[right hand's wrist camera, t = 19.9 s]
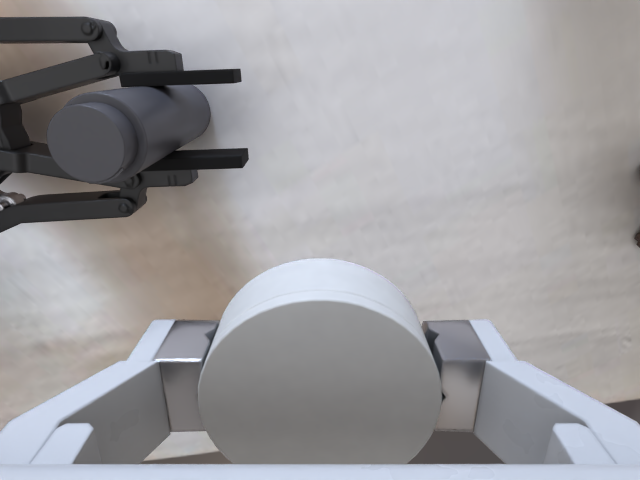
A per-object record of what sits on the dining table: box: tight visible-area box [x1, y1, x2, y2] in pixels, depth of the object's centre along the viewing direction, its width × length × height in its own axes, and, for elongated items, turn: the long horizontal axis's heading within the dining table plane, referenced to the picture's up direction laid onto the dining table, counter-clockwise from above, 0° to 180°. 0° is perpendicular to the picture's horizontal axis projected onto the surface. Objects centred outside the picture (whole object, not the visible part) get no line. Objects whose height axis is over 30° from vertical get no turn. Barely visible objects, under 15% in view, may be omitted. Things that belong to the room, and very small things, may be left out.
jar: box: [47, 85, 210, 184], centre depth 26 cm, size 4×4×15 cm
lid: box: [198, 258, 442, 464], centre depth 9 cm, size 5×5×2 cm
